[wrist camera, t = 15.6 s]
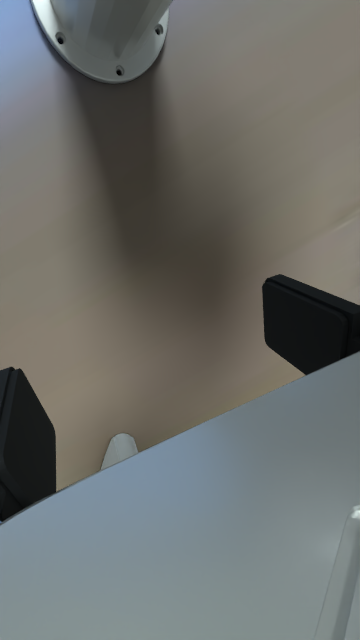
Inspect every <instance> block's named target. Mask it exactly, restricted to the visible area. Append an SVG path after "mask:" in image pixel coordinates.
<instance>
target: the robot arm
mask: <svg viewBox="0 0 360 640" xmlns="http://www.w3.org/2000/svg"><path fill="white" fill-rule="evenodd" d="M172 1H173V0H31V4H32V7H33V10H34V13H35V15H36V17H37V20H38V22H39V24H40V26H41V28H42V30H43V32H44V33H45V35H46V37H47V38H48V40H49V41H50V43H51V45H52V46H53V47H54V48H55V49H56V51H57V52H58V53H59V54H60V55H61V57H62V58H63V59H64V60H65V61H66V62H68V63H69V64H70V65H71V66H72V67H73V68H74V69H76V70H77V71H79V72H80V73H82V74H84V75H85V76H87V77H89V78H91V79H94V80H96V81H99V82H104V83H110V84H117V83H125V82H128V81H131V80H134V79H136V78H137V77H139V76H140V75H142V74H143V73H144V72H145V71H146V70H147V69H148V68H149V67H150V66H151V65H152V64H153V62H154V61H155V59H156V58H157V57H158V55H159V52H160V50H161V48H162V46H163V44H164V40H165V37H166V34H167V28H168V20H169V6H170V4H171V3H172ZM155 30H156V31H158V33H159V35H157V34H156V32H155ZM58 39H61V40H62V41H63V44H59V43H58V41H57V40H58ZM116 71H120V73H121V76H118V75H117V73H116ZM262 293H263V314H264V335H265V342H266V344H267V346H268V347H269V348H271V349H272V350H273V351H275V352H276V353H277V354H279V355H280V356H281V357H283V358H284V359H285V360H287V361H288V362H289V363H291V364H292V365H293V366H295V367H296V368H297V369H299V370H300V371H301V372H303V373H304V374H305V375H306V376H304V377H302V378H299V379H297V380H295V381H293V382H291V383H289V384H286V385H284V386H282V387H280V388H278V389H276V390H273V391H271V392H269V393H267V394H265V395H262V396H260V397H258V398H256V399H254V400H252V401H249V402H247V403H245V404H243V405H241V406H239V407H236V408H234V409H232V410H230V411H228V412H225V413H223V414H221V415H219V416H217V417H215V418H212V419H210V420H208V421H206V422H204V423H202V424H199V425H197V426H195V427H193V428H191V429H188V430H186V431H184V432H182V433H180V434H178V435H175V436H173V437H171V438H169V439H167V440H165V441H162V442H160V443H158V444H156V445H154V446H152V447H150V448H147V449H145V450H143V451H141V452H139V453H137V454H135V455H132V456H130V457H128V458H126V459H124V460H122V461H120V462H117V463H115V464H113V465H111V466H109V467H107V468H105V469H102V470H100V471H98V472H96V473H94V474H92V475H89V476H87V477H85V478H83V479H81V480H79V481H77V482H75V483H73V484H71V485H69V486H67V487H65V488H63V489H61V490H59V491H57V492H56V436H55V430H54V427H53V425H52V423H51V421H50V419H49V417H48V416H47V414H46V412H45V410H44V408H43V407H42V405H41V403H40V401H39V399H38V398H37V396H36V394H35V392H34V391H33V389H32V387H31V385H30V383H29V382H28V380H27V378H26V376H25V374H24V373H23V371H22V370H21V369H20V368H19V369H17V370H15V369H14V368H13V367H9V368H6V369H3V370H0V640H360V305H357V304H355V303H352V302H350V301H347V300H344V299H342V298H339V297H337V296H334V295H332V294H329V293H327V292H324V291H322V290H319V289H317V288H314V287H312V286H309V285H307V284H304V283H302V282H299V281H297V280H294V279H292V278H289V277H286V276H284V275H281V274H279V275H276V276H273V277H270V278H267V279H266V280H265V283H264V284H263V286H262Z"/></svg>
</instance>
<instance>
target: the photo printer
mask: <svg viewBox="0 0 360 640" xmlns="http://www.w3.org/2000/svg"><path fill="white" fill-rule="evenodd" d="M137 453H138V450H137V447H136V444H135V441H134V438H133V437H131V436H130V435H129V434H125V433H122V434H118V435H116V436H115V437H113V438H112V439H111V441H110V444H109V446H108V449H107V452H106V454H105V457H104V460H103V463H102V467H101V470H102V469H105V468H107V467H109V466H111V465H113V464H115V463H117V462H120V461H122V460H124V459H126V458H128V457H130V456H132V455H135V454H137Z"/></svg>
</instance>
